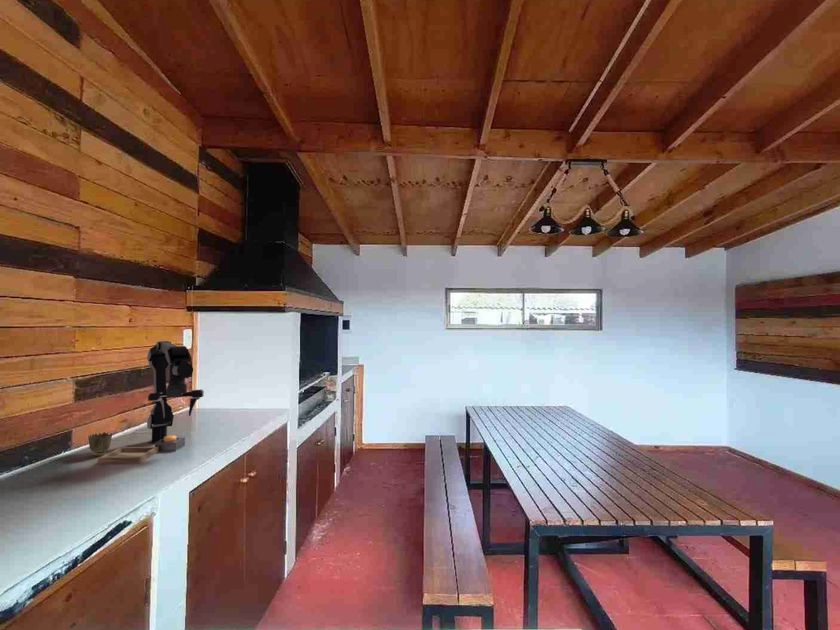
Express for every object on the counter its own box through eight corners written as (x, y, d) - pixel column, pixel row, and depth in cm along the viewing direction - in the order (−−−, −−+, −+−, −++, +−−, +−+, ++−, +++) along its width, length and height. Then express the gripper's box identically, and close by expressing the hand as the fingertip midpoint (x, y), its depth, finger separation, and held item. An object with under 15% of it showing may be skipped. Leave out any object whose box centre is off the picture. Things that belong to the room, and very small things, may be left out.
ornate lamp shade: (116, 453, 167) (117, 433, 167) (96, 459, 160) (97, 437, 160) (102, 451, 169) (103, 431, 169) (82, 457, 162) (83, 435, 162)
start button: (167, 441, 177) (167, 435, 177) (178, 441, 177) (178, 435, 177) (161, 444, 172) (161, 438, 172) (173, 444, 173) (173, 437, 173)
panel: (164, 446, 178) (164, 437, 178) (184, 445, 179) (184, 437, 179) (154, 451, 170) (154, 442, 170) (175, 451, 171) (175, 442, 171)
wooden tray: (121, 452, 168) (121, 447, 168) (158, 452, 169) (158, 446, 169) (97, 464, 154) (97, 458, 154) (138, 463, 155) (138, 457, 155)
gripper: (144, 379, 160) (144, 422, 159) (200, 376, 167) (200, 417, 166) (151, 378, 171) (151, 418, 169) (203, 375, 177) (203, 413, 176)
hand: (176, 416), depth 170 cm, fingers open, 9 cm apart
